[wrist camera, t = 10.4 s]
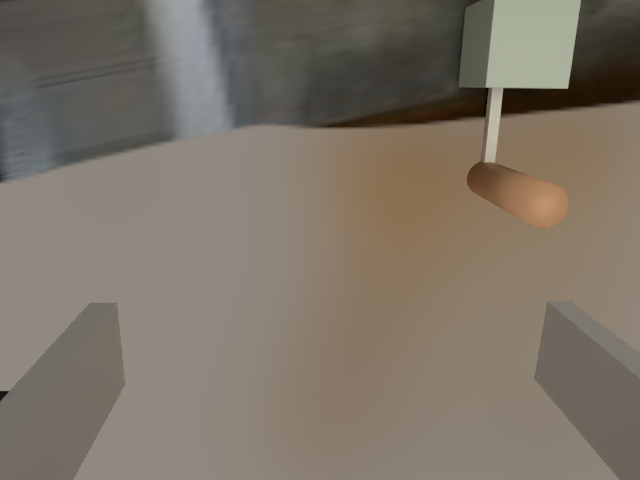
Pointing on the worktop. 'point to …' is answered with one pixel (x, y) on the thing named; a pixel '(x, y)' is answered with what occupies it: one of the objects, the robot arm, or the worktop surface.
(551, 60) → the block with rod
